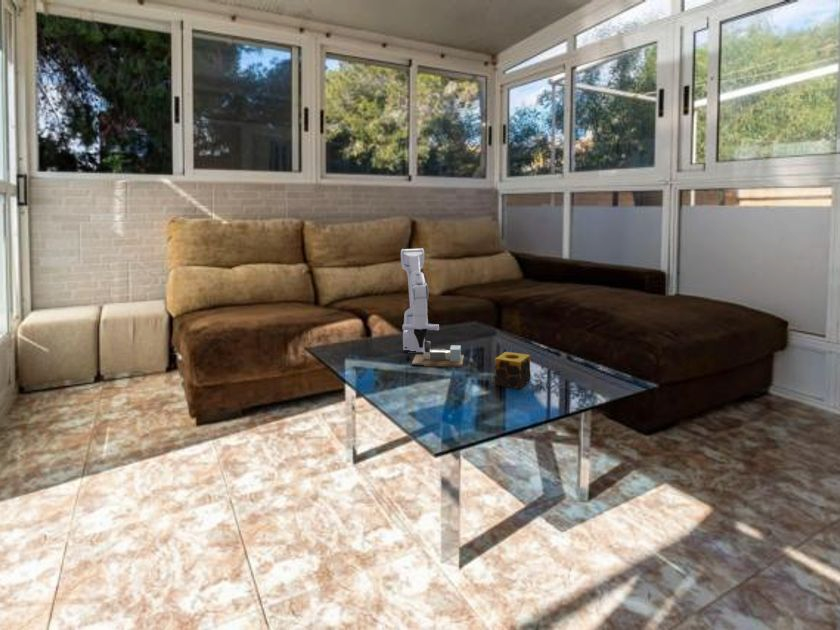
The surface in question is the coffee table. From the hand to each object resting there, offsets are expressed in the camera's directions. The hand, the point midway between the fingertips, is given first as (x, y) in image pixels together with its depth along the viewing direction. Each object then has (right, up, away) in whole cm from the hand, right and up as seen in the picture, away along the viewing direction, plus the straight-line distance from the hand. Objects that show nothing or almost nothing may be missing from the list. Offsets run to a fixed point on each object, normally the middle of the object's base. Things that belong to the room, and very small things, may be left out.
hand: (421, 347), depth 227 cm
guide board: (+7, -6, 0) cm, 9 cm away
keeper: (+14, -6, 0) cm, 15 cm away
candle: (+33, -12, -27) cm, 44 cm away
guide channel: (+7, -6, 0) cm, 9 cm away
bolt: (+7, -5, 0) cm, 9 cm away
